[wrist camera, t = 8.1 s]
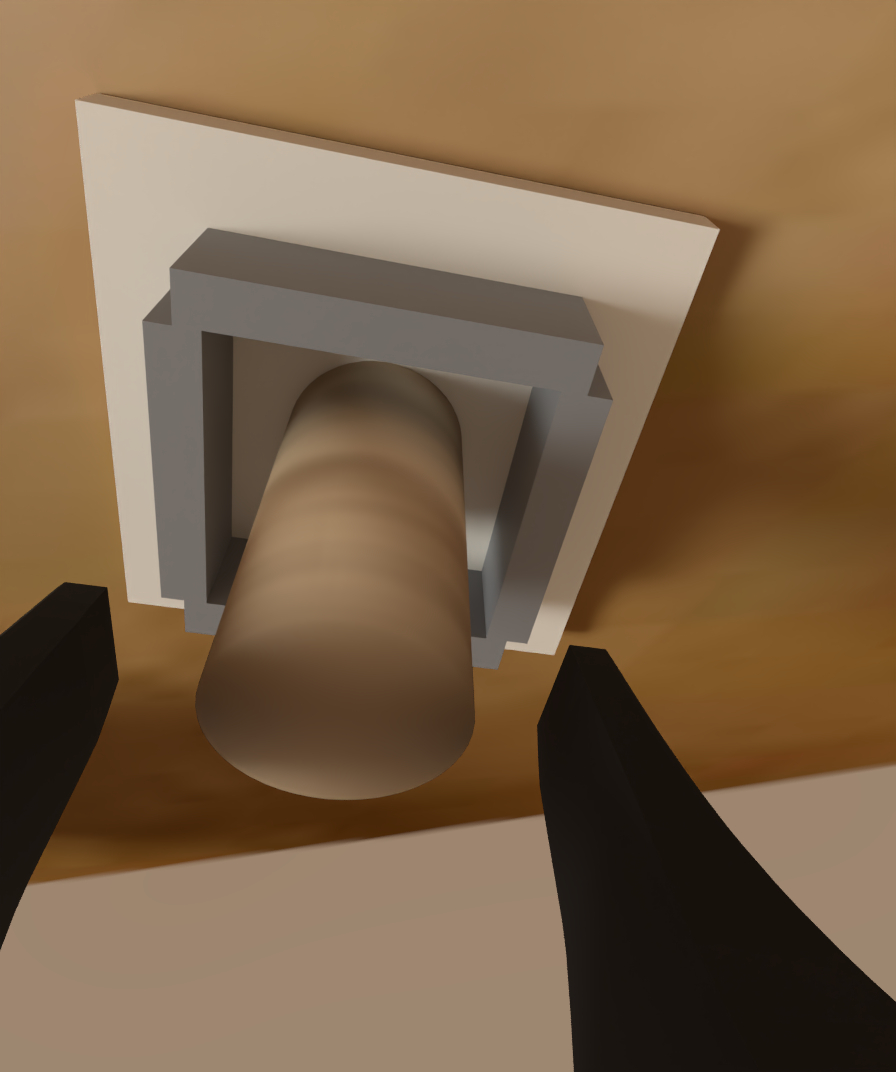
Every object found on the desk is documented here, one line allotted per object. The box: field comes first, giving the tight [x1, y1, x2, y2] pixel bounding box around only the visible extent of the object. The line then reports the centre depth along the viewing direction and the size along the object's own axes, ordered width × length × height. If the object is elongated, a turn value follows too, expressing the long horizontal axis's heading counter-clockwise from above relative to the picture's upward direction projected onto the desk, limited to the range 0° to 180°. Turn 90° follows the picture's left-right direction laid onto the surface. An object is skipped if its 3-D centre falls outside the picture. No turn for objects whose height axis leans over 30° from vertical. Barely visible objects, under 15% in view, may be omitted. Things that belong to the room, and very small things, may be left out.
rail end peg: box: [195, 361, 475, 800], centre depth 14 cm, size 4×4×8 cm
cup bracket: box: [75, 93, 720, 670], centre depth 16 cm, size 12×12×4 cm
